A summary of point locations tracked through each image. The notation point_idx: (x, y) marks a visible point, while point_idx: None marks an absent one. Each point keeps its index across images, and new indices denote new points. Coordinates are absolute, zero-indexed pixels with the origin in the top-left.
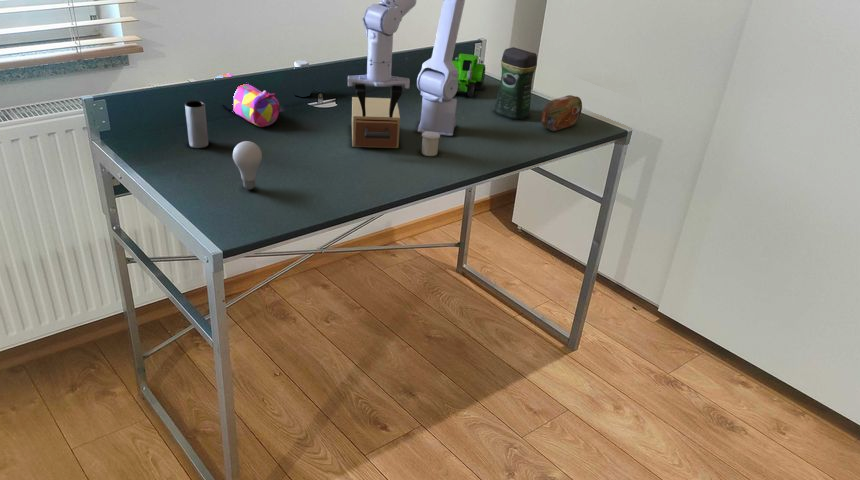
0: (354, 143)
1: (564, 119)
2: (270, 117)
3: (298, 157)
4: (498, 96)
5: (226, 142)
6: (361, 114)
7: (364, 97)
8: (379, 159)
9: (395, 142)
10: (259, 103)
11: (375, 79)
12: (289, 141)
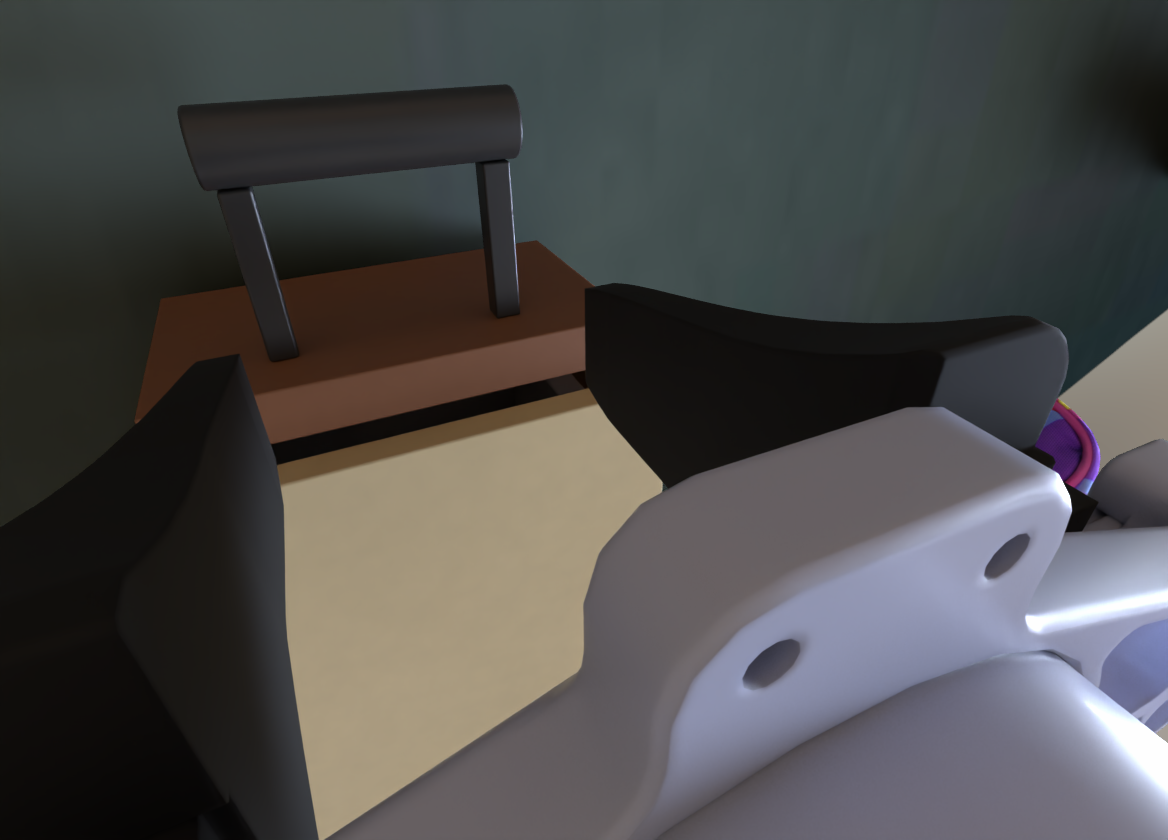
0: None
1: None
2: None
3: (885, 13)
4: None
5: (1110, 185)
6: (593, 446)
7: (797, 348)
8: (286, 39)
9: (171, 315)
10: (1068, 445)
11: (1091, 757)
12: (876, 266)
